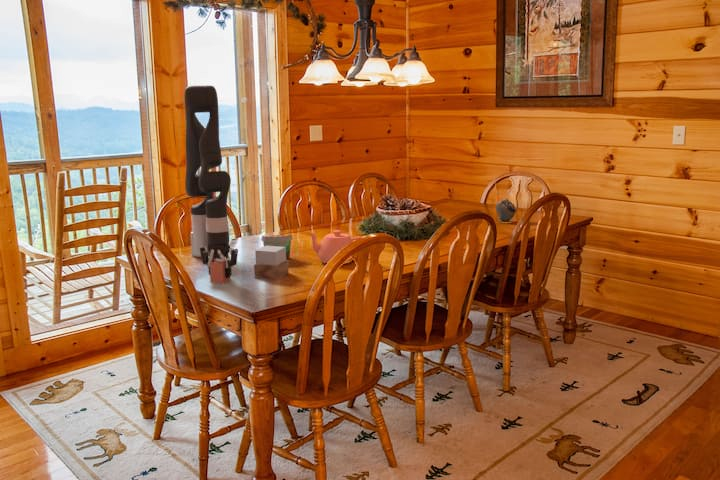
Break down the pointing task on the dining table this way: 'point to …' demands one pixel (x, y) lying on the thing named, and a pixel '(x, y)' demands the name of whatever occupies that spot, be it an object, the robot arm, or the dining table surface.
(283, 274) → the bottom slab
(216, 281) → the red block
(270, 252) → the top slab
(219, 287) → the dining table surface
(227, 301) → the dining table surface
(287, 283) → the dining table surface
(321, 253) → the teapot
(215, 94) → the robot arm
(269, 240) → the food container
